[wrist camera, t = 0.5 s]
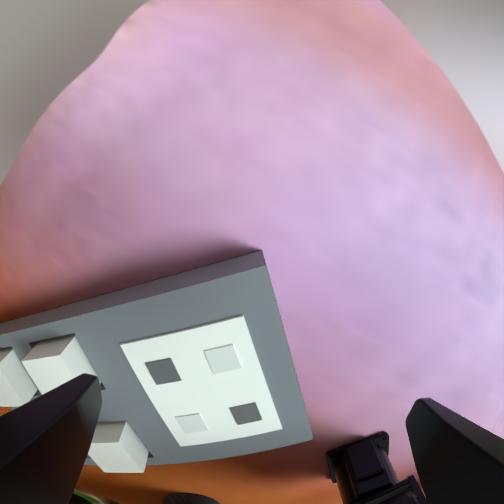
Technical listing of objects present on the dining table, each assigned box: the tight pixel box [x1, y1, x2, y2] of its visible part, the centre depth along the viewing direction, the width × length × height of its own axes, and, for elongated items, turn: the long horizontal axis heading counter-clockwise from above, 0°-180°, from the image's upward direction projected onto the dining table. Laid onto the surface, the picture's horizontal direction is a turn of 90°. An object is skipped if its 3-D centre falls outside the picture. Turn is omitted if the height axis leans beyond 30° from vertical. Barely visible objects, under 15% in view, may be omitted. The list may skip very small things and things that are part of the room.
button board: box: [0, 250, 313, 465], centre depth 21 cm, size 15×26×3 cm, turn 106°
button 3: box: [88, 421, 149, 473], centre depth 21 cm, size 4×4×3 cm
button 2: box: [21, 333, 101, 395], centre depth 18 cm, size 4×4×3 cm
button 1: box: [0, 346, 38, 407], centre depth 19 cm, size 4×4×3 cm
